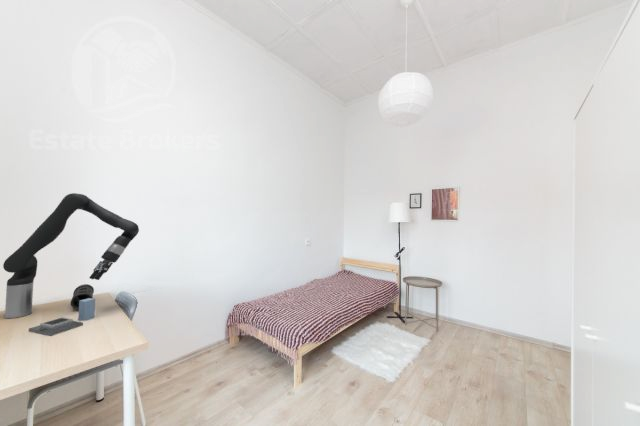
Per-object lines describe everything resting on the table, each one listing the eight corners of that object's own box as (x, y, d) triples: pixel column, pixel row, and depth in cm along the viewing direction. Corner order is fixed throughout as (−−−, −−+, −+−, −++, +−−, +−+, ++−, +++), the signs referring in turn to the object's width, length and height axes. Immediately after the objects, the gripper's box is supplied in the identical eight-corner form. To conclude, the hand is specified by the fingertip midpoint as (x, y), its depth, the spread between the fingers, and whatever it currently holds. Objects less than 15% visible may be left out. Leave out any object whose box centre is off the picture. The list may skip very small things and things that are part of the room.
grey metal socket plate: (28, 331, 113) (28, 324, 113) (61, 321, 124) (62, 314, 125) (50, 336, 109) (50, 328, 109) (82, 325, 120) (83, 318, 120)
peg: (78, 319, 127) (79, 300, 127) (88, 316, 131) (89, 298, 131) (84, 320, 125) (85, 301, 126) (94, 317, 130) (95, 298, 130)
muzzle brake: (69, 313, 136) (70, 294, 136) (73, 300, 156) (74, 284, 157) (92, 309, 142) (93, 291, 143) (93, 297, 163) (94, 282, 163)
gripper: (102, 250, 143) (82, 276, 134) (111, 249, 135) (90, 276, 127) (115, 255, 148) (96, 281, 139) (124, 255, 140) (105, 282, 131)
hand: (93, 279), depth 133 cm, fingers open, 8 cm apart
